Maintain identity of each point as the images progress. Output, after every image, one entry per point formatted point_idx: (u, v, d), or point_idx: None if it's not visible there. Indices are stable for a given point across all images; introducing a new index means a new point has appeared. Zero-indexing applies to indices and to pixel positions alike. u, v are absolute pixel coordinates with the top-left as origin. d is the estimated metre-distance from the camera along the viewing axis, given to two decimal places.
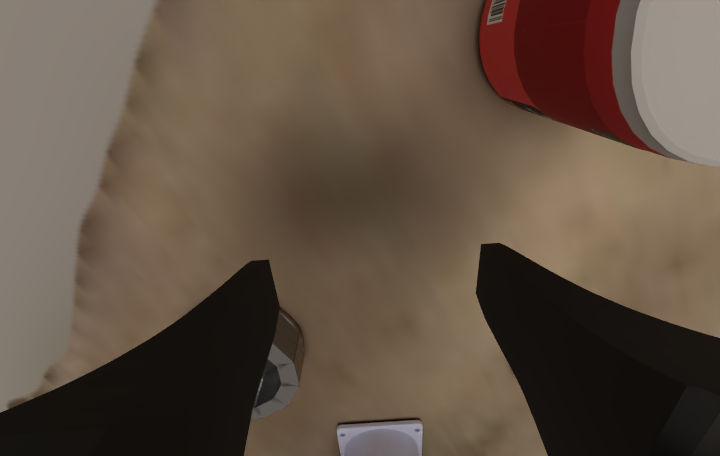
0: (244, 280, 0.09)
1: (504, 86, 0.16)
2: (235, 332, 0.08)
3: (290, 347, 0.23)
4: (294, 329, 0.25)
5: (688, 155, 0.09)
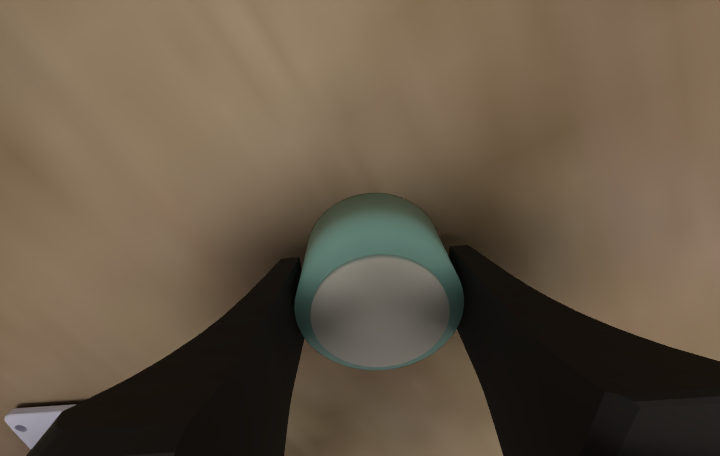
0: (280, 277, 0.09)
1: None
2: (276, 329, 0.08)
3: None
4: None
5: None
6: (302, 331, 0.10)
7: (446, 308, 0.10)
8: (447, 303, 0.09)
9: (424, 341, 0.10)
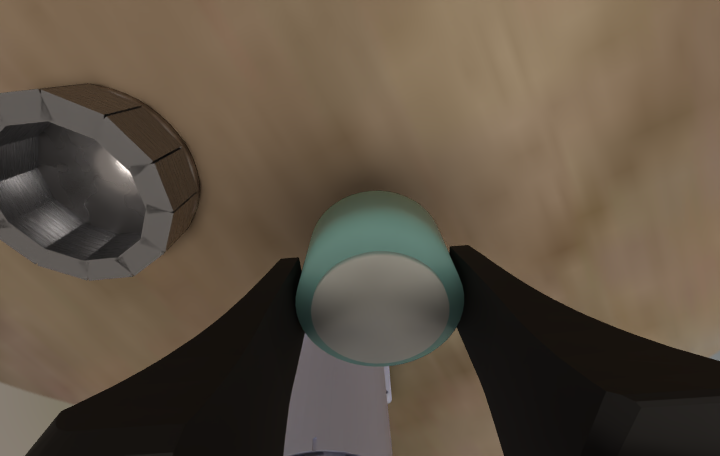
0: (280, 278, 0.09)
1: None
2: (275, 329, 0.08)
3: (153, 146, 0.15)
4: (172, 138, 0.17)
5: None
6: (303, 327, 0.10)
7: (446, 305, 0.10)
8: (446, 300, 0.09)
9: (424, 338, 0.10)
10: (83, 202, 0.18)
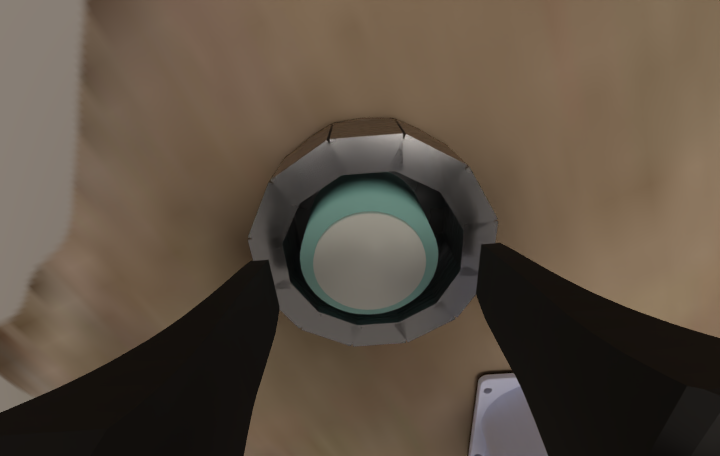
0: (244, 280, 0.09)
1: None
2: (235, 332, 0.08)
3: None
4: None
5: None
6: (307, 280, 0.12)
7: (423, 255, 0.12)
8: (423, 250, 0.12)
9: (407, 285, 0.12)
10: None
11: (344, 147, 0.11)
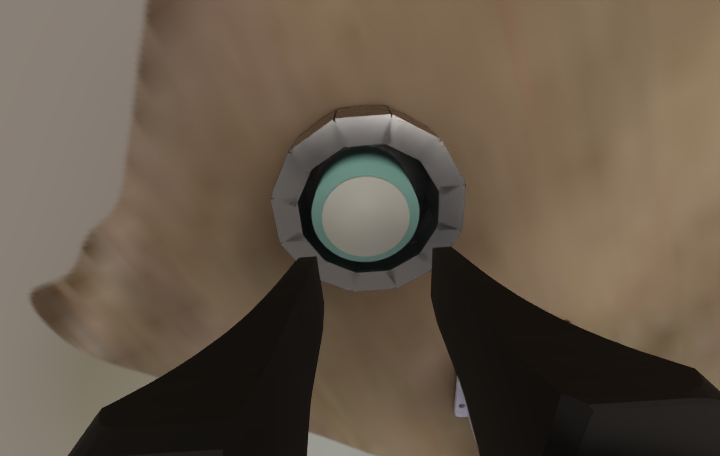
0: (300, 276, 0.09)
1: None
2: (298, 328, 0.08)
3: None
4: None
5: None
6: (317, 232, 0.16)
7: (407, 210, 0.15)
8: (407, 206, 0.15)
9: (395, 235, 0.16)
10: None
11: (346, 124, 0.14)
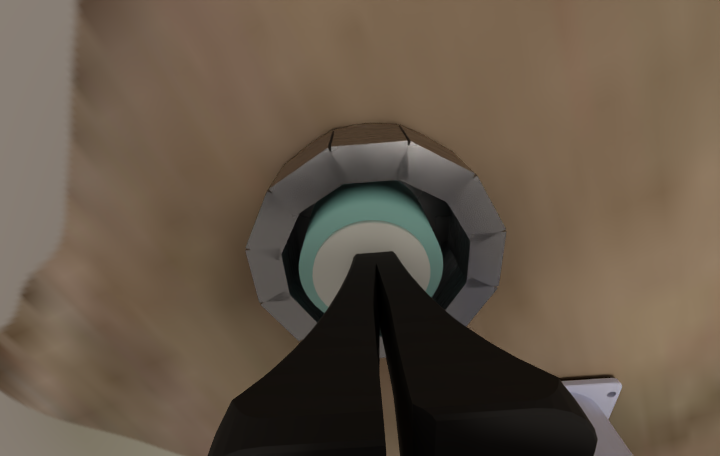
0: (368, 271, 0.09)
1: None
2: (375, 322, 0.08)
3: None
4: None
5: None
6: (306, 291, 0.12)
7: (427, 265, 0.11)
8: (427, 261, 0.11)
9: None
10: None
11: (346, 154, 0.10)
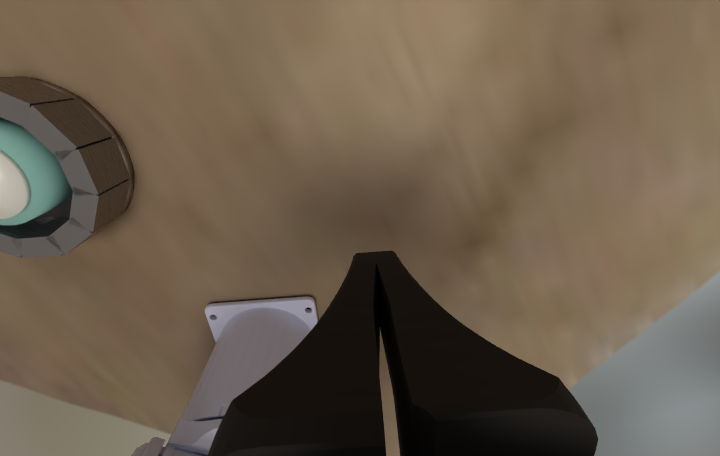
0: (368, 271, 0.09)
1: None
2: (375, 322, 0.08)
3: (80, 134, 0.17)
4: (103, 128, 0.18)
5: None
6: None
7: (15, 172, 0.16)
8: (13, 168, 0.16)
9: (18, 198, 0.16)
10: None
11: None
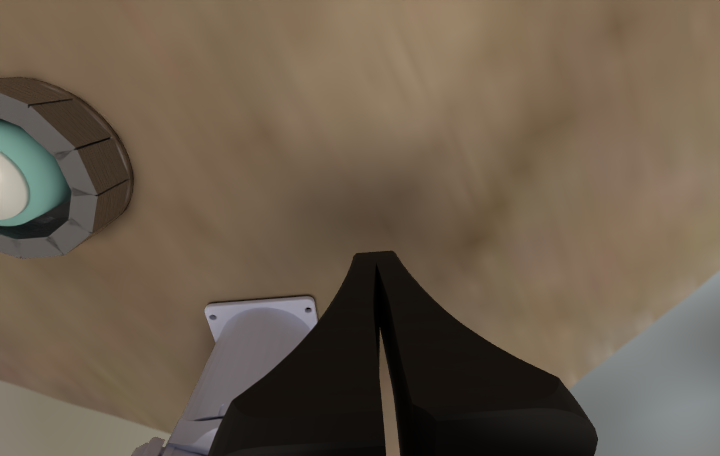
0: (368, 271, 0.09)
1: None
2: (375, 322, 0.08)
3: (79, 135, 0.17)
4: (102, 129, 0.18)
5: None
6: None
7: (14, 172, 0.16)
8: (11, 169, 0.16)
9: (17, 198, 0.16)
10: None
11: None
